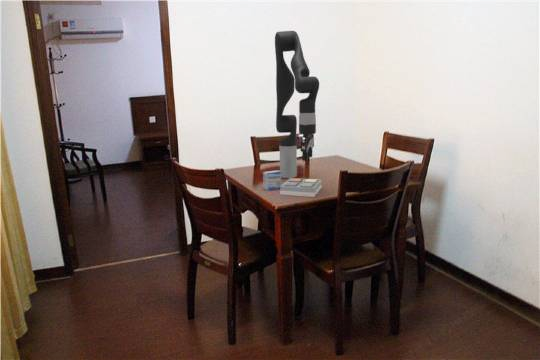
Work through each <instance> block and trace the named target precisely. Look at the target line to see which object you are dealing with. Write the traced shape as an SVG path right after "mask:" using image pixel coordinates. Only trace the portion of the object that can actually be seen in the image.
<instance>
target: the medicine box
mask: <svg viewBox="0 0 540 360" xmlns="http://www.w3.org/2000/svg"><path fill="white" fill-rule="evenodd" d="M262 181H263V184H262V185H263V190H265V191H268V190H269V191H273V190H274V191H275V190H280V186H281V185H282V177H281V171H280V169H279V170H278V169H277V170H276V169H275V170H269V171H263V172H262ZM269 191H268V192H269Z"/></svg>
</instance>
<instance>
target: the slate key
mask: <svg viewBox="0 0 540 360" xmlns="http://www.w3.org/2000/svg"><path fill="white" fill-rule="evenodd" d="M297 185H298V182H287V183H286V184H285V186H294V187H296V186H297Z"/></svg>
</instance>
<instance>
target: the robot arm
mask: <svg viewBox="0 0 540 360" xmlns="http://www.w3.org/2000/svg"><path fill="white" fill-rule="evenodd" d="M274 49H275V50H274V51H275V52H274V53H275V61H276V62H275V65H276V67H275V68H276V69H275V70H276V71H275V72H276V76H275V77H276V78H275V84H276V86H275V89H276V117H275V118H276V119H275V128H276V131H277V133H279V134H285V133H289V135H288V136H286V137H284V138H281V139H279V140H278V141H279V142H278V143H279V145H278V146H279V148H278V149H279V171H281V179H282V178H283V179H290V178H297V176H298V164H297V163H298V162H297V161H298V160H297V158H298V157H297V154H298V152H297V151H298V150H297V148H298V147H297V145H298V143H297V131H298V133H299V134H300V135H303V136H302V137H300V152H301V153H302V154H301V155H302V161H303V162H306V161H308V160H309V158H312V157H313V149H314V147H315V143H314V142H315V139H314V138H315V136H314V134H316V133H317V127H316V126H317V118H316V102H317V101H316V100H317V96H318V94H319V89H320V81H319V78H317V77H316V76H314V75H313V76H310V73H311V72H310V71H311V70H310V69H309V67H308V63H307V62H306V60H305V56H304V52H303V49H302V44H301V41H300V37H299V34H298V32H297V31H295V30H283V31H276V33H275V35H274ZM284 52H294V53H293V56H292V58H291V59H290V68H289V67H288V64H287V63H286V61H285V55H284ZM295 91H296V92H297V93H299V94H308V96H307V97H305V98H302V99H300V100H299V102H298V103H299V104H298V105H299V107H298V110H299V114H298V120H297V116H296V115H295V114H284V110H285V108H286V107H287V104H288V103H289V102H290V100H291V98H292V96H294V93H295ZM283 114H284V115H283ZM297 121H298V122H297ZM297 126H298V127H297ZM297 128H298V130H297Z"/></svg>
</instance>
